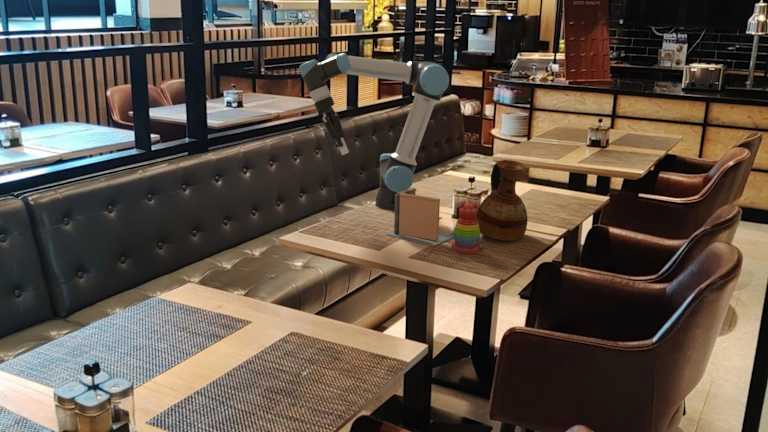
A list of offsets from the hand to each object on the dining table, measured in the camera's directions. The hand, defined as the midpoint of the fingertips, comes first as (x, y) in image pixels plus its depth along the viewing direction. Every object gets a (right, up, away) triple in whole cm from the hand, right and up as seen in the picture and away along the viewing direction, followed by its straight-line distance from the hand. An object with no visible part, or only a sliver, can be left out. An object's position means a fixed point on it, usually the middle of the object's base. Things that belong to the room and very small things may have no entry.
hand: (345, 153), depth 298 cm
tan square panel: (+28, -33, -16) cm, 46 cm away
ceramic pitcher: (+60, -33, -11) cm, 70 cm away
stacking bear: (+45, -38, -27) cm, 65 cm away
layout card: (+29, -33, -12) cm, 46 cm away
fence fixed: (+23, -31, -8) cm, 39 cm away
